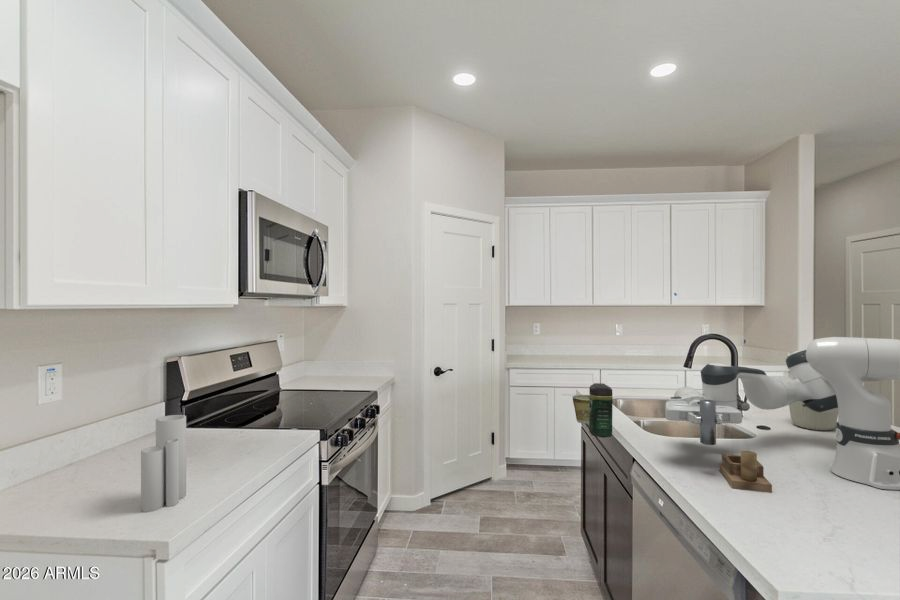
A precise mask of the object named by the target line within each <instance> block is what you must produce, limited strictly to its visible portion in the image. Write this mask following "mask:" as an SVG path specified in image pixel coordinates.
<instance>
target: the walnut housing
mask: <svg viewBox="0 0 900 600" xmlns="http://www.w3.org/2000/svg"><path fill="white" fill-rule="evenodd" d="M718 467H719V469H718V470H719V472H720V473H721V474H722V476H723V477H724V479H725V481H726V482H727V483H728V484H729V486H730V487H731V488H732V489H739V490H746V491H756V492H762V493H764V492H765V493H773V484H772V483H771V482H770V481H769V480H768V479H767V478H766V477H765V476H764V469H765V468H764V466H763V464H762V463H760V462H759V460H758V454H757V452H755V451H751V450H740V455H738V454H737V455H735V454H725V453H722V454H721V463H719V466H718Z"/></svg>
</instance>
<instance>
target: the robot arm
mask: <svg viewBox="0 0 900 600" xmlns="http://www.w3.org/2000/svg"><path fill="white" fill-rule="evenodd" d="M785 363H786V367H787V369H789V372H790V373H791V376H792V378H791V377H788V376H782V375H769V376H768V375H767V373H766V372H765V371H764V370H762V369H758V368H752V367H746V366H738V365H737V366H736V365H729V364H726V363H721V362H711V363H707V364H706V365H705V366H704V367H703V368H702V369H701V370H700V378H701V382H702V384H701V386H702V393H701V392H700V391H699V390H697V389H695V388H693V387H689V386H682V387H679V388H678V389H677V390H676V391H675V392H674V395H673V396H671V397H666V402H665V406H664V408H665V409H664V410H665V411H664V412H665V420H667V421H672V422H673V421H675V422H688V423H689V422H690V423H692V424H696V425H700V423H701V417H700V400H713V401H715V402H716V425H723V424H736V425H739V424H741V423H742V421H743V413H742V411H741V410H740V409H738V398H737V397H738V395H737V394H738V393H737V389H738V388H737V380H738V379H740V381H741V383H742V384H741V385H742V387H743V392H744V393H743V394H744V395H745V398H746V399H747V400H748V402H749V403H750V404H751V405H753V406H754V407H756V408H758V409H760V410H766V411H767V410H768V411H769V410H771V411H772V410H776V409H781V408H785V407H786V406H789V404H791V403H794V402H797V401H802V402H803V403H804V405H802V406H803V407H808V408H809V409H811V410H813V411H816V412H819V413H820V412H823V413H832V412H836V411H838V417H837V423H836V426H835V439H836V440H835V441H836V449H835V450H836V451H835V455H834V459H833V463H832V466H831V467H830V471H831V472H832V473H833V474H834V475H836V476H839V477H841V478H843V479H846V480H850V481H853V482H855V483H861V484H864V485H868V486H871V487H874V488H877V489H881V490H891V491H893V490H894V491H900V432H898V431H896V430H894V429H892V405H891V401H890V400H889V399H888V398H887V397H886V396H885V395H883V394H881V393H880V392H877V391H876V390H873V389H872V388H869V387H867V386H865V385H864V383H866V382H883V381H891V380H900V339H896V338H880V337H879V338H876V337H873V338H872V337H851V336H850V337H846V336H829V337H821V338H814V339H813V340H812V341H810V343H809V344H808V346H807V347H806V348H804V349H803V348H802V349H798V350H795V351H793V352H792V353H790V354H789V355H788V356H787V357H786V359H785ZM793 379H794V380H793Z"/></svg>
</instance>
